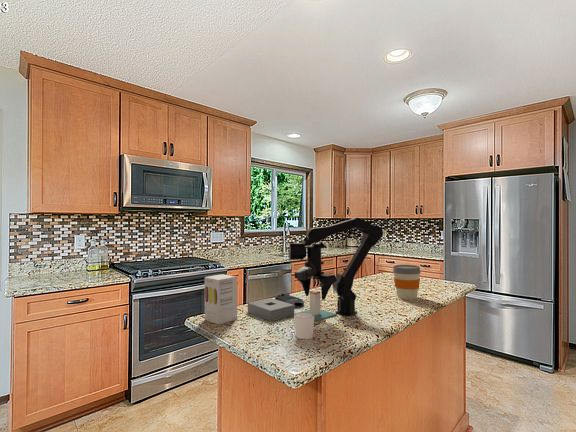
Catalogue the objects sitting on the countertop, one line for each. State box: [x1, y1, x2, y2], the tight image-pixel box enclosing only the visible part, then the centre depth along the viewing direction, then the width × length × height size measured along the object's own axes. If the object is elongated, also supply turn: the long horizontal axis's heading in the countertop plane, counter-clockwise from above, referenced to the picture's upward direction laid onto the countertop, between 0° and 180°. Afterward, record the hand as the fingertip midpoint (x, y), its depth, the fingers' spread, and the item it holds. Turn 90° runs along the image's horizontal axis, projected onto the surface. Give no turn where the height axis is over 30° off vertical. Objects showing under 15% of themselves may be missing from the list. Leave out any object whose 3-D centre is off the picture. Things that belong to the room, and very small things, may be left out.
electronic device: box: [274, 293, 305, 309], centre depth 146 cm, size 9×6×15 cm
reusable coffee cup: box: [392, 264, 421, 301], centre depth 155 cm, size 13×13×15 cm
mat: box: [294, 309, 337, 323], centre depth 128 cm, size 12×12×1 cm
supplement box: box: [204, 273, 238, 325], centre depth 124 cm, size 10×9×17 cm
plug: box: [309, 290, 322, 315], centre depth 128 cm, size 3×3×9 cm
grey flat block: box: [247, 297, 295, 322], centre depth 131 cm, size 16×12×4 cm
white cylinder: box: [293, 311, 315, 340], centre depth 105 cm, size 7×7×7 cm
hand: (315, 297), depth 128 cm, fingers open, 9 cm apart
